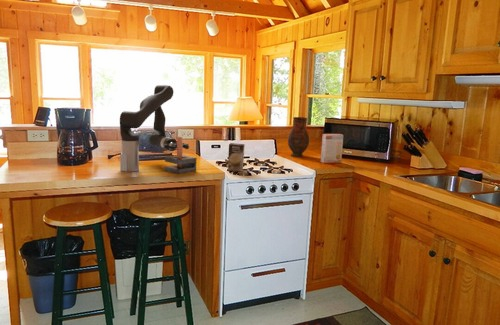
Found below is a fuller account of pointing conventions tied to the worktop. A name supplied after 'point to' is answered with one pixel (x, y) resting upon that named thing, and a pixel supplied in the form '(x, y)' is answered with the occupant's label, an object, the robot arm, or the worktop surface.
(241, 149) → the coffee box
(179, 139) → the pin
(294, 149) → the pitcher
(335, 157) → the cracker box
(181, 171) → the clevis
